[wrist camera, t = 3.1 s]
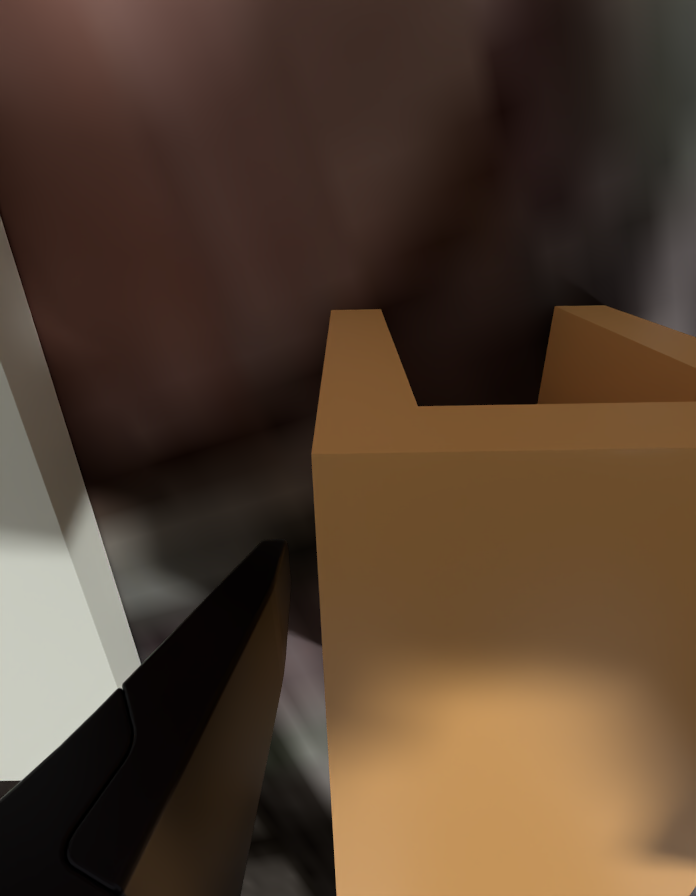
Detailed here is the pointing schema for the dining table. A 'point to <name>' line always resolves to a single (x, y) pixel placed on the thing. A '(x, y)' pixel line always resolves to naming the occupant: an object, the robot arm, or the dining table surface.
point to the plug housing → (511, 618)
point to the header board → (47, 559)
